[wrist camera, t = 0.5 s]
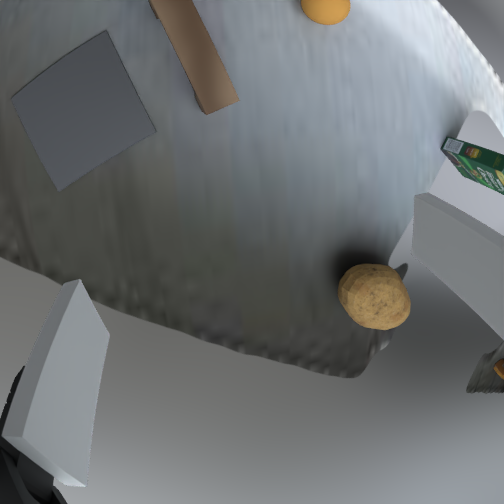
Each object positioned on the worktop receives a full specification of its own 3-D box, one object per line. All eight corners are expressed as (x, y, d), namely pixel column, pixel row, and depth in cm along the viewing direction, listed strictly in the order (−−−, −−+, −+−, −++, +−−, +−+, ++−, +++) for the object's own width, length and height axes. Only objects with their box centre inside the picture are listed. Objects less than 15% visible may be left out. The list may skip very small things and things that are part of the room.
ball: (287, -6, 27) (303, -20, 22) (326, -14, 27) (347, -27, 22) (305, 33, 30) (324, 24, 25) (343, 23, 30) (366, 15, 25)
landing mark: (11, 98, 26) (10, 98, 26) (106, 30, 25) (106, 30, 25) (59, 191, 33) (58, 192, 32) (156, 132, 32) (156, 132, 32)
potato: (355, 234, 43) (384, 260, 37) (402, 276, 49) (429, 303, 42) (311, 284, 46) (332, 318, 39) (364, 318, 52) (386, 349, 45)
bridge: (202, 111, 32) (206, 115, 24) (150, 6, 25) (139, -22, 17) (226, 100, 32) (239, 100, 24) (175, -5, 25) (173, -36, 17)
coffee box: (437, 148, 40) (502, 173, 28) (446, 134, 39) (511, 155, 27) (461, 177, 43) (520, 205, 31) (469, 163, 42) (528, 189, 30)
